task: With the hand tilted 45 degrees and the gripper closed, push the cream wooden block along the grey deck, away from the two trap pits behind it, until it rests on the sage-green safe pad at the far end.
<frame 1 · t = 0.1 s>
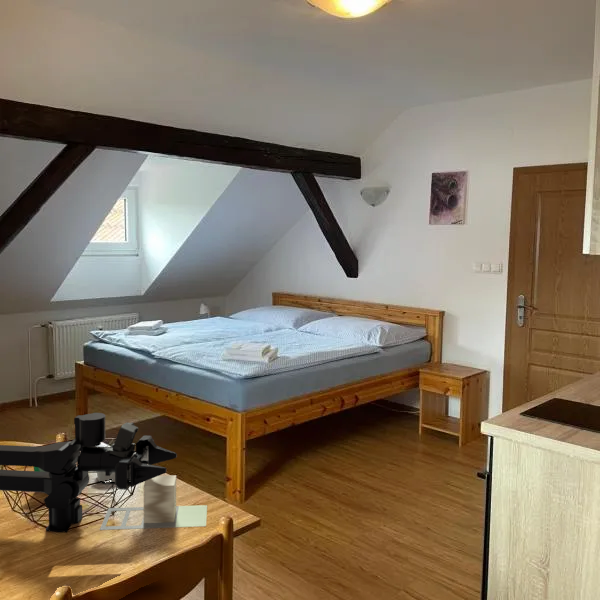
hand: (171, 462, 140), 17 cm above the table, tool horizontal, fingers open, 9 cm apart
deck: (155, 522, 146), on the table
cup: (108, 479, 171), on the table
food container: (56, 486, 166), on the table
block: (160, 516, 146), point 1 cm above the table, touching deck
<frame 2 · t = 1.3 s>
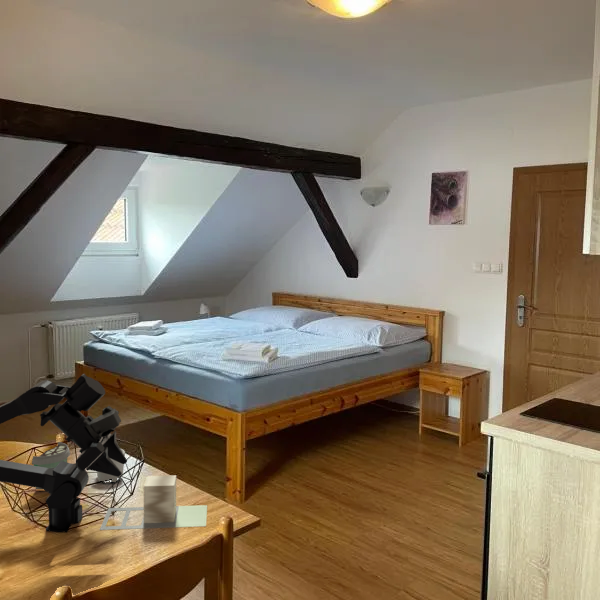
hand: (123, 468, 143), 14 cm above the table, tool tilted 45°, fingers open, 7 cm apart
nothing on the table moved.
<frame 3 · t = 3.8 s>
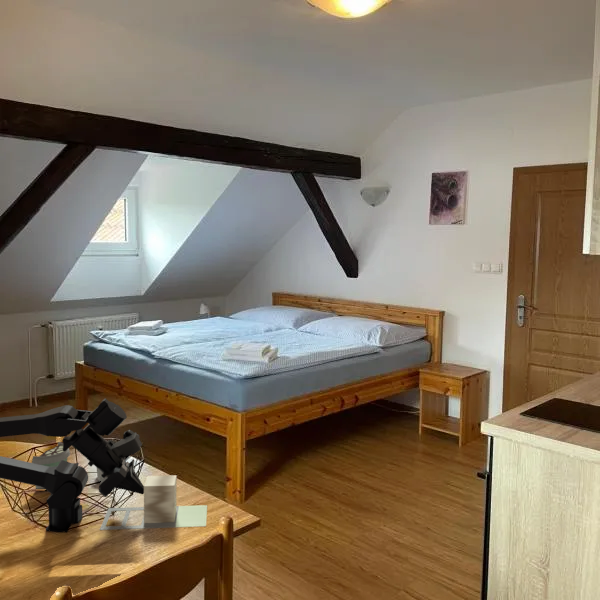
hand: (144, 492, 145), 8 cm above the table, tool tilted 45°, fingers closed, pressing on block
block: (160, 516, 146), point 2 cm above the table, touching gripper
everything else where it was.
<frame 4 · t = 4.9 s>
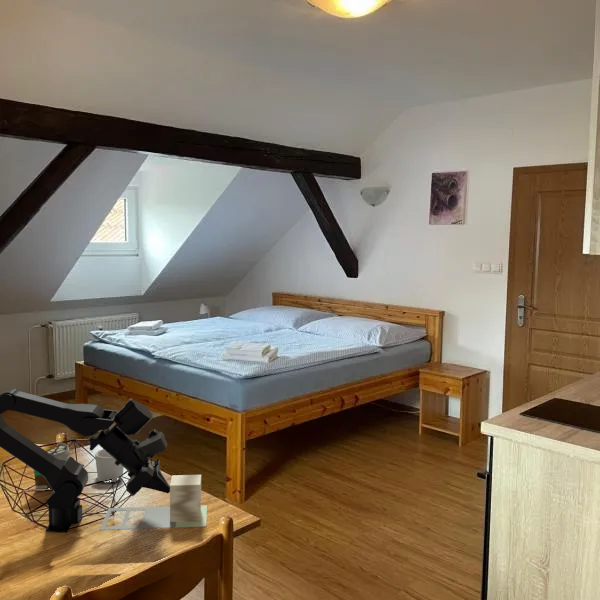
hand: (169, 491, 145), 8 cm above the table, tool tilted 45°, fingers closed, pressing on block
block: (185, 515, 147), point 2 cm above the table, touching gripper
everything else where it was.
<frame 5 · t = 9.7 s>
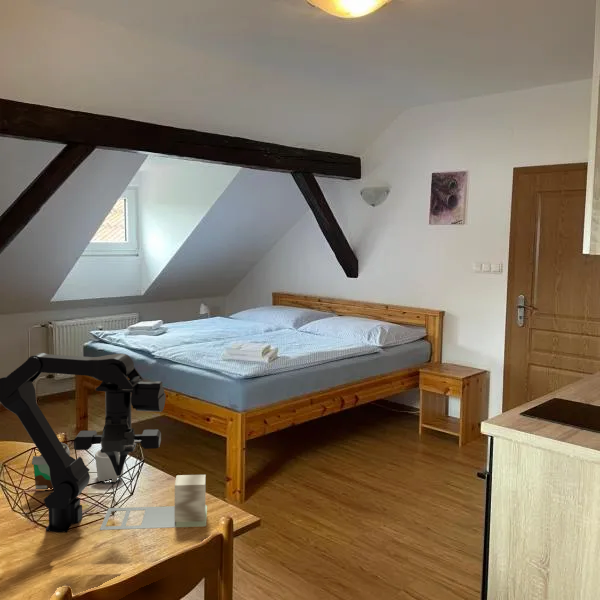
hand: (118, 475, 141), 13 cm above the table, tool pointing down, fingers closed
block: (190, 515, 147), point 1 cm above the table, touching deck
everything else where it was.
at the end: block inside the target area on the deck (0.6 cm from its centre), point 1.5 cm above the deck's base; block tilted 0° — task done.
